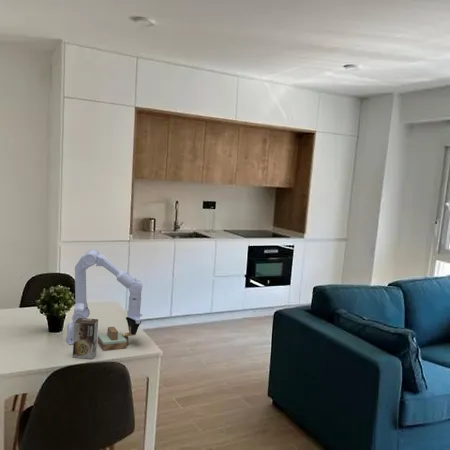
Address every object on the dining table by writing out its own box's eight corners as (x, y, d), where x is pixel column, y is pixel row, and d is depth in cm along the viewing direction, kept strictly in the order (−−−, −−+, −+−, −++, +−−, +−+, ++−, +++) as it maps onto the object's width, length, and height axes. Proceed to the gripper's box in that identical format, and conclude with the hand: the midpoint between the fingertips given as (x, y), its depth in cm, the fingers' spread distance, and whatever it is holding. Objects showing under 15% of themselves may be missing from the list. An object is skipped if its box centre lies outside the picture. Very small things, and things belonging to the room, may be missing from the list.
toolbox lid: (103, 344, 206) (104, 334, 205) (97, 336, 214) (98, 326, 214) (126, 342, 211) (127, 332, 211) (120, 334, 220) (121, 324, 219)
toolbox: (102, 350, 206) (103, 342, 206) (97, 342, 215) (98, 334, 214) (130, 347, 213) (130, 339, 212) (123, 340, 221) (124, 332, 221)
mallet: (123, 337, 214) (123, 328, 213) (121, 334, 216) (122, 326, 216) (135, 335, 217) (136, 327, 216) (133, 333, 219) (134, 325, 219)
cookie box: (96, 353, 203) (99, 319, 201) (92, 359, 196) (95, 323, 195) (76, 351, 202) (78, 317, 201) (71, 357, 196) (74, 322, 194)
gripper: (147, 310, 212) (145, 337, 213) (137, 301, 224) (135, 327, 226) (132, 311, 208) (130, 339, 210) (123, 301, 221) (121, 328, 222)
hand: (132, 333), depth 217 cm, fingers closed on mallet, 3 cm apart
